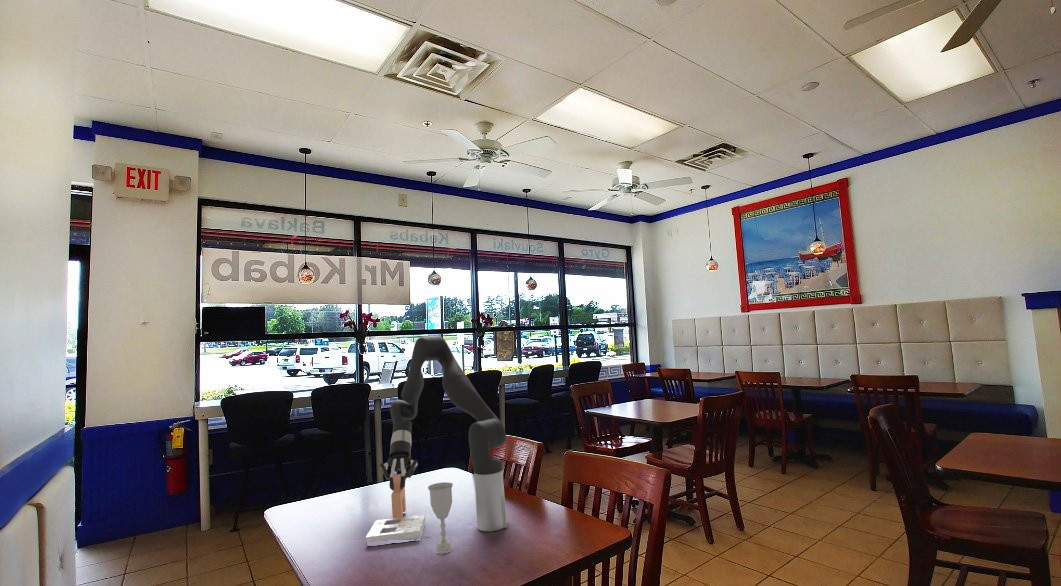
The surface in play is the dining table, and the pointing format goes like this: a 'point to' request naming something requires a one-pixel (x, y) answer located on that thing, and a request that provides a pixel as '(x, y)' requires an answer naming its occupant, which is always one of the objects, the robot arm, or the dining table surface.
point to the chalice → (441, 510)
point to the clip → (398, 498)
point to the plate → (397, 529)
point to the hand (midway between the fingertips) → (397, 488)
